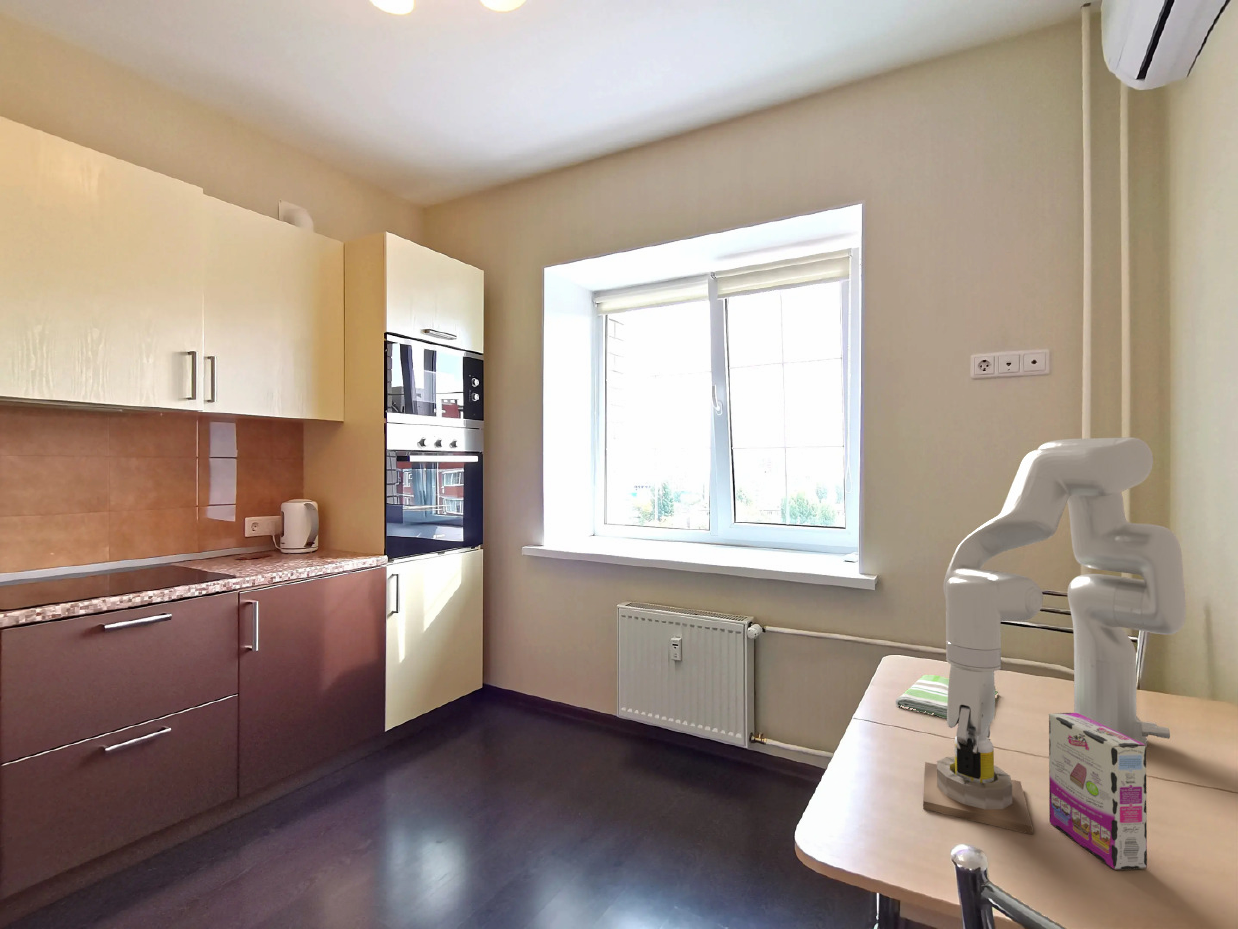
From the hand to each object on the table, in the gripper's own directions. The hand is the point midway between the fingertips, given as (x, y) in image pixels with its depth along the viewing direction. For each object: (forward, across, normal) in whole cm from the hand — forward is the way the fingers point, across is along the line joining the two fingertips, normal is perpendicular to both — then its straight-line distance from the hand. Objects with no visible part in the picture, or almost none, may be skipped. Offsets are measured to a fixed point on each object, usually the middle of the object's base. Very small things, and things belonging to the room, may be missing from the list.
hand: (973, 767), depth 96 cm
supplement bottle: (+3, 0, 0) cm, 3 cm away
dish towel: (+6, -42, -15) cm, 45 cm away
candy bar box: (+5, +2, +15) cm, 16 cm away
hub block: (+5, 0, 0) cm, 5 cm away
